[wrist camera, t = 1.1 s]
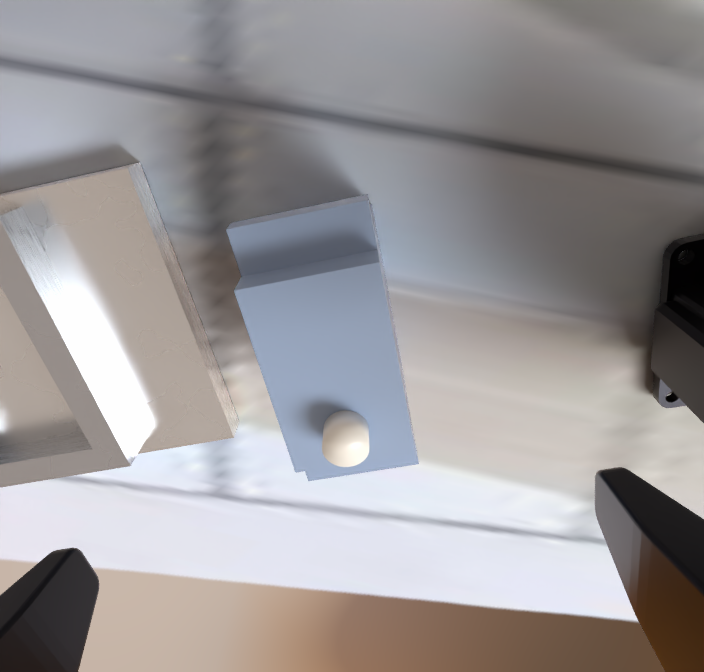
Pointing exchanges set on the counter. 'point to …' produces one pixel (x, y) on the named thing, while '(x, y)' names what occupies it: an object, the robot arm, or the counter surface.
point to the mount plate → (98, 332)
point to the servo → (325, 336)
